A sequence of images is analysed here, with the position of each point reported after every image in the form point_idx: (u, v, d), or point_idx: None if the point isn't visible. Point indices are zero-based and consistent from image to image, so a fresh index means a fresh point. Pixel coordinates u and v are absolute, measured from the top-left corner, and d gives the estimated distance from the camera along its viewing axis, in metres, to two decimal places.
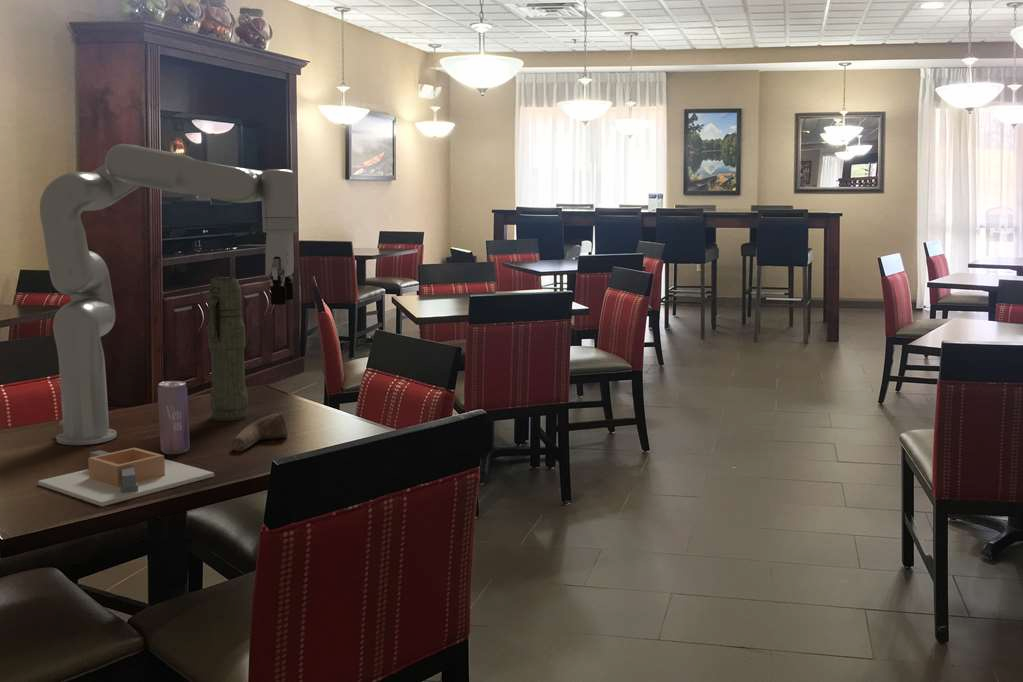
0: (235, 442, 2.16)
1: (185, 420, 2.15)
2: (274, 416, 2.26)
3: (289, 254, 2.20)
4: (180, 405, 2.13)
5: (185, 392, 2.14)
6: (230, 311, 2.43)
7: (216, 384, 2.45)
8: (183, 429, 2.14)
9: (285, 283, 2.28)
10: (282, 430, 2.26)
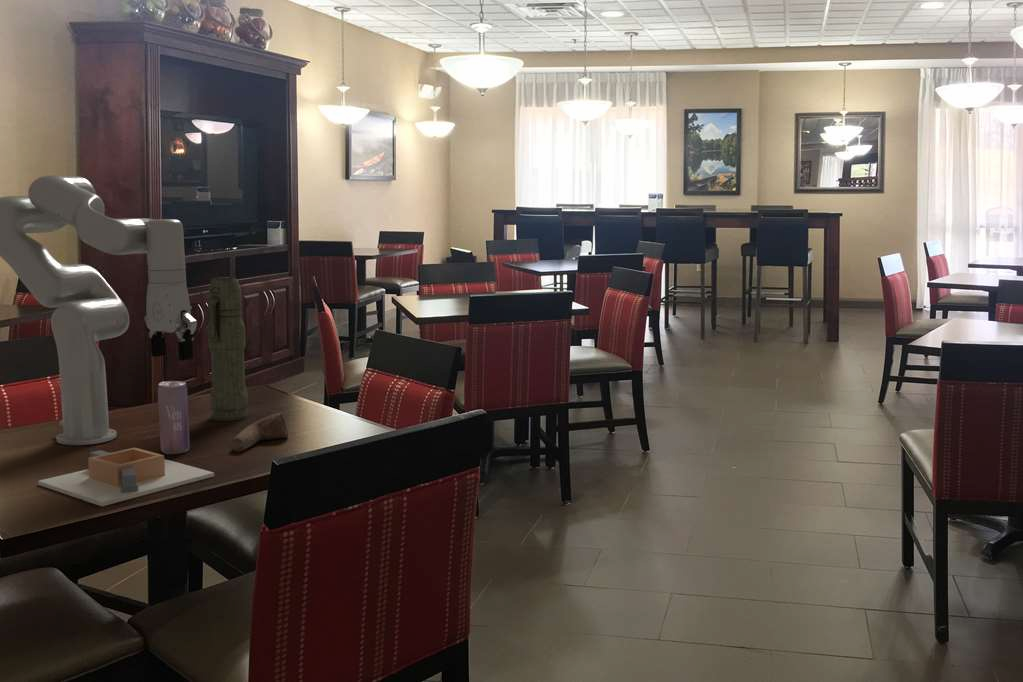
0: (234, 442, 2.16)
1: (185, 420, 2.15)
2: (274, 416, 2.26)
3: None
4: (180, 405, 2.13)
5: (185, 392, 2.14)
6: (230, 311, 2.43)
7: (216, 384, 2.45)
8: (183, 429, 2.14)
9: (159, 338, 2.16)
10: (282, 430, 2.26)
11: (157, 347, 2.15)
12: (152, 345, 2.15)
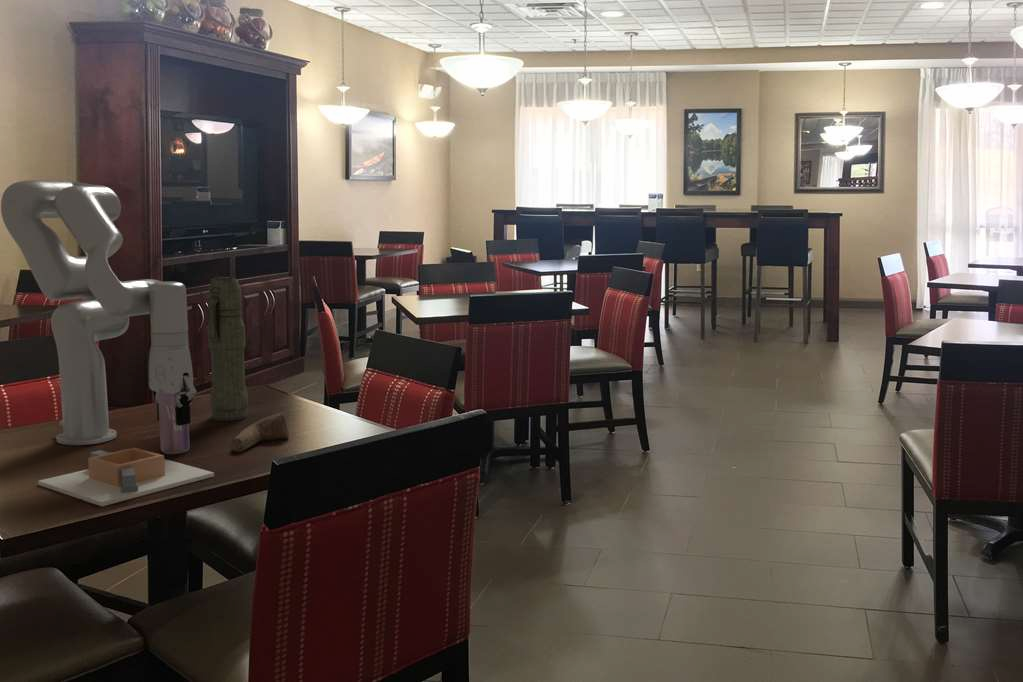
0: (234, 442, 2.16)
1: None
2: (275, 416, 2.26)
3: None
4: None
5: None
6: (230, 311, 2.43)
7: (216, 384, 2.45)
8: (183, 430, 2.14)
9: None
10: (283, 431, 2.25)
11: None
12: (158, 410, 2.16)
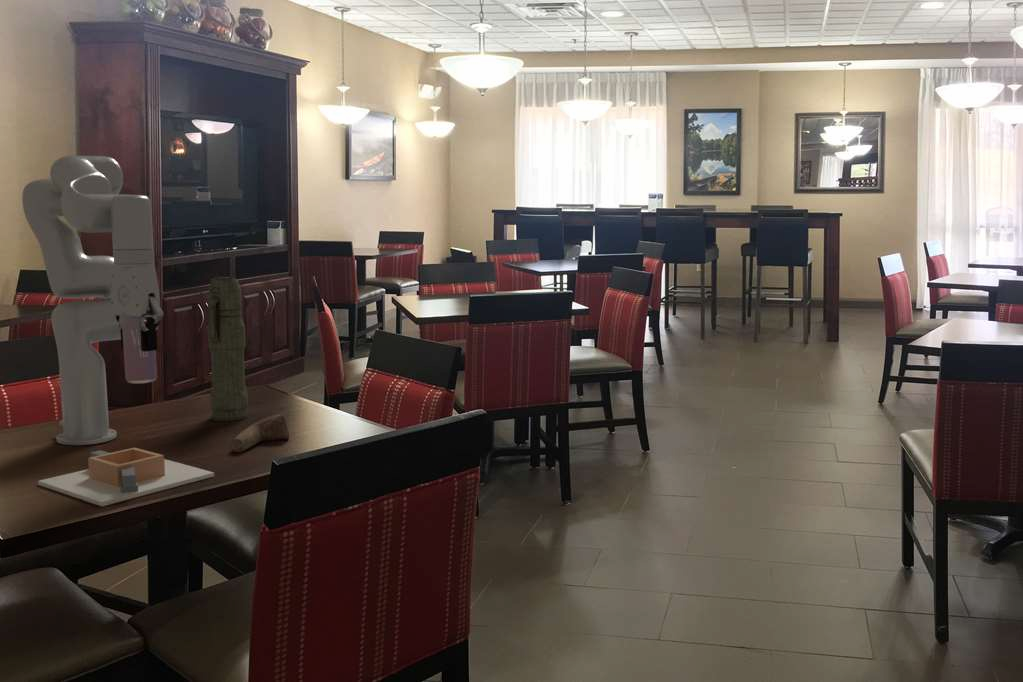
0: (234, 443, 2.16)
1: None
2: (275, 416, 2.26)
3: None
4: None
5: None
6: (230, 311, 2.43)
7: (216, 384, 2.45)
8: (149, 356, 1.97)
9: None
10: (283, 431, 2.25)
11: None
12: (122, 336, 1.98)
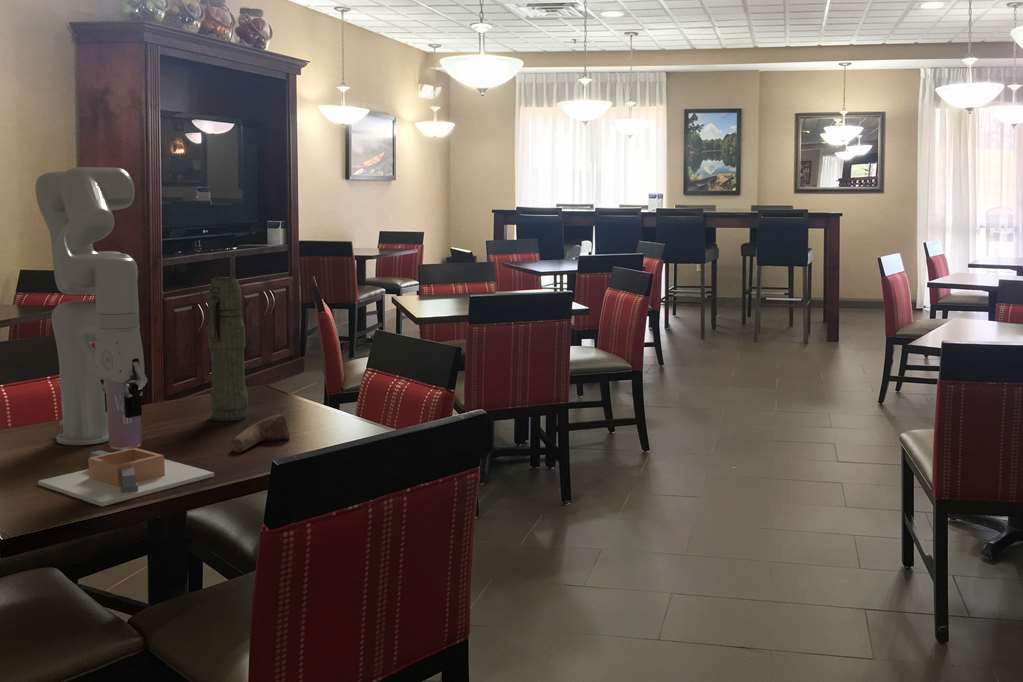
0: (233, 443, 2.15)
1: None
2: (275, 417, 2.25)
3: None
4: None
5: None
6: (230, 311, 2.43)
7: (216, 384, 2.45)
8: (133, 422, 1.91)
9: None
10: (283, 431, 2.25)
11: None
12: None
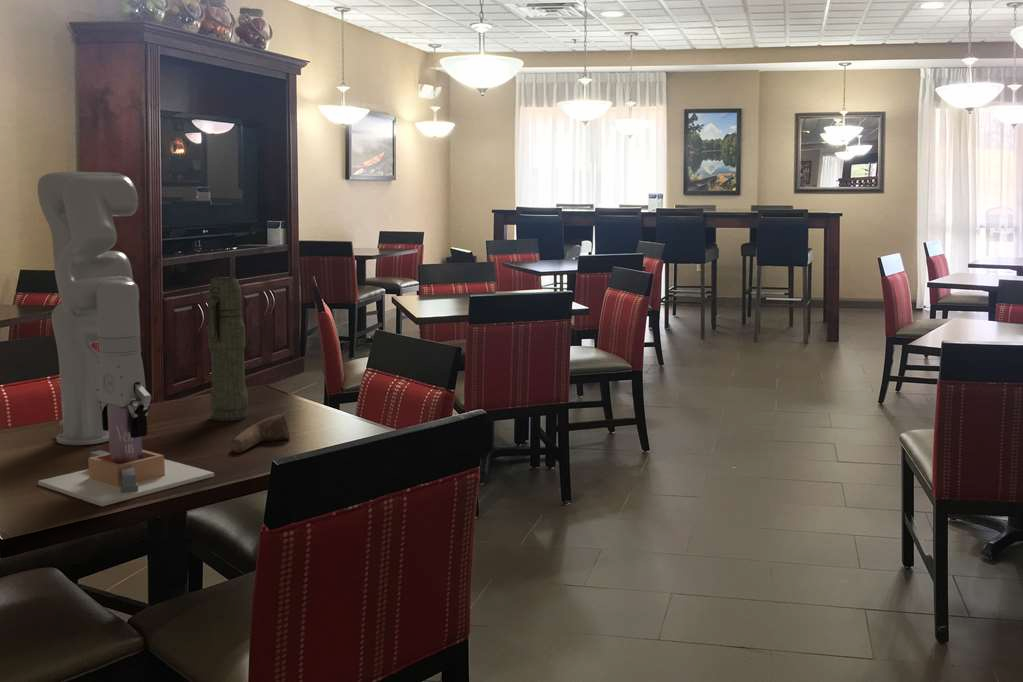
0: (233, 443, 2.15)
1: (138, 442, 1.93)
2: (276, 417, 2.25)
3: None
4: None
5: None
6: (230, 311, 2.43)
7: (216, 384, 2.45)
8: (135, 452, 1.92)
9: None
10: (284, 432, 2.25)
11: None
12: (103, 418, 1.94)
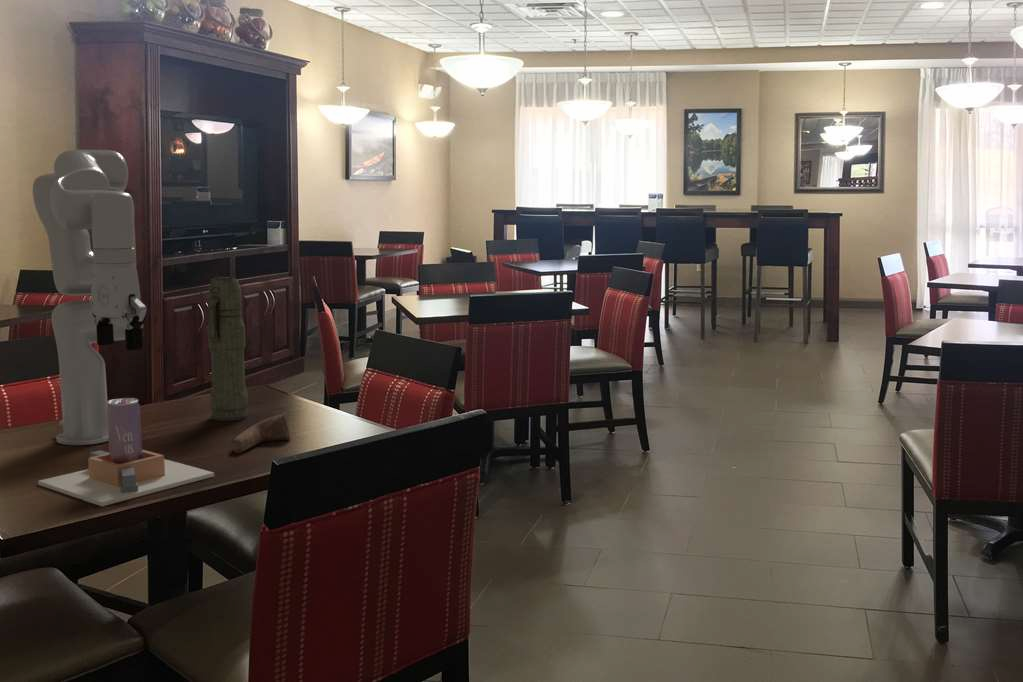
0: (233, 443, 2.15)
1: (138, 442, 1.93)
2: (276, 417, 2.25)
3: None
4: (131, 425, 1.91)
5: (137, 411, 1.92)
6: (230, 311, 2.43)
7: (216, 384, 2.45)
8: (135, 452, 1.92)
9: (105, 325, 1.93)
10: (284, 432, 2.24)
11: (104, 335, 1.93)
12: (98, 332, 1.92)
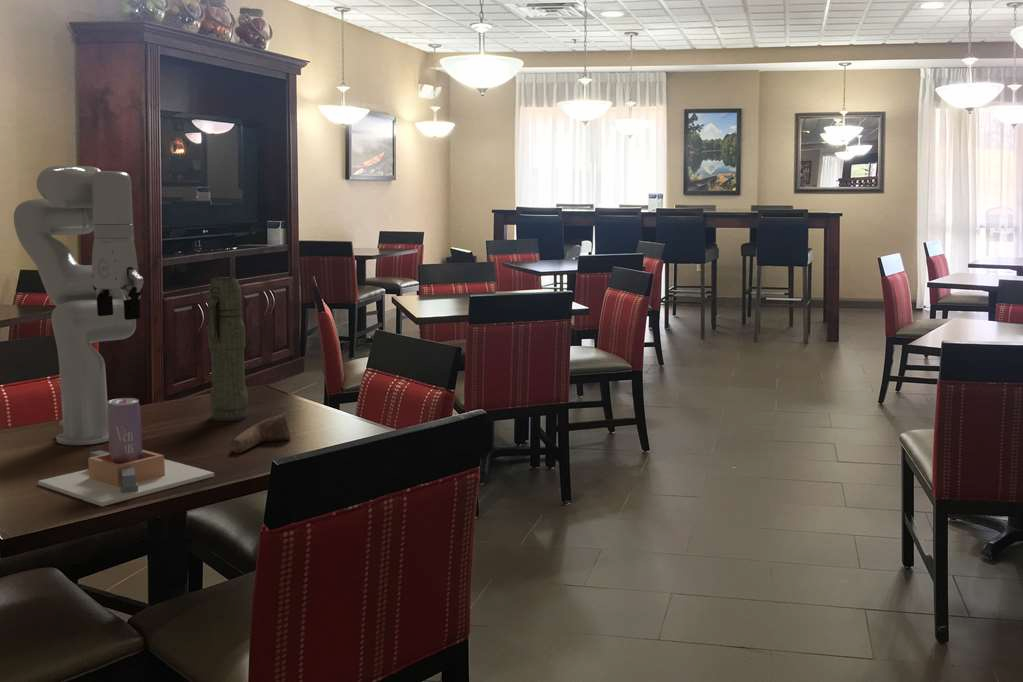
0: (233, 443, 2.15)
1: (138, 442, 1.93)
2: (276, 417, 2.25)
3: None
4: (131, 425, 1.91)
5: (138, 410, 1.92)
6: (230, 311, 2.43)
7: (216, 384, 2.45)
8: (135, 452, 1.92)
9: (105, 297, 2.06)
10: (284, 432, 2.24)
11: (103, 306, 2.06)
12: (98, 304, 2.05)
